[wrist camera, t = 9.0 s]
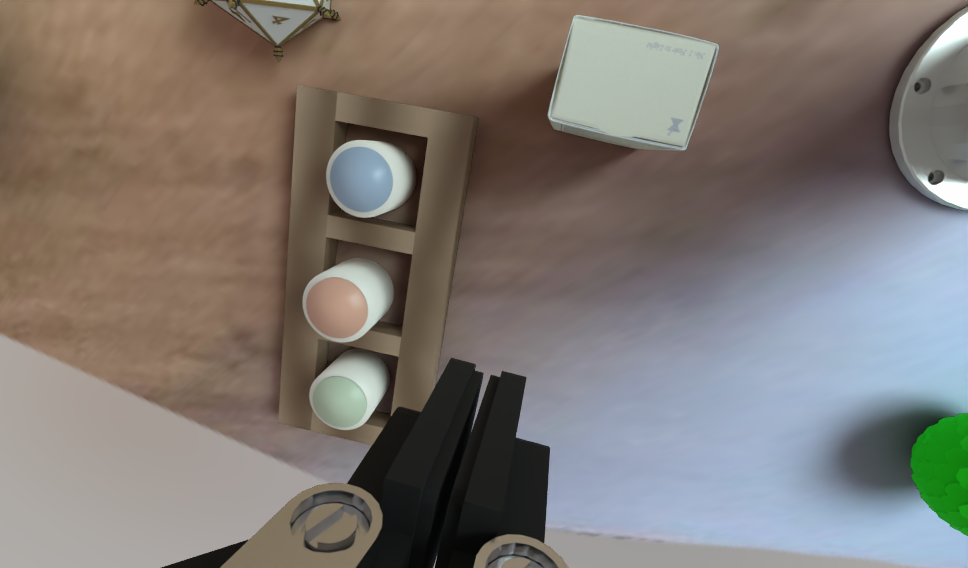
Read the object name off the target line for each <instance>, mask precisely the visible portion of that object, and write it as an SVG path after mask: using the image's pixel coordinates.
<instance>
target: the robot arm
mask: <svg viewBox="0 0 968 568" xmlns="http://www.w3.org/2000/svg"><path fill="white" fill-rule="evenodd" d="M914 85H915V90H914ZM889 135H890V141H891V147H892V152H893V155H894V157H895V159H896V162H897V164H898V167H899V169H900V170H901V172H902V173H903V174H904V176H905V177H906V179H907V180H908V181H909V183H910V184H911V185H912V186H914V187H915V188H916V189H917V190H918V191H919V192H921V193H922V194H923V195H924V196H926V197H928V198H930V199H932V200H934V201H936V202H938V203H940V204H942V205H946V206H949V207H953V208H956V209H960V210H968V6H967V7H966V8H964V9H962V10H961V11H959V12H958V13H956V14H955V15H953V16H952V17H951V18H950V19H949V20H947V21H946V22H945V23H944V24H943V25H941V26H940V27H939V28H938V29H936V30H935V31H934V33H933V34H932V35H931V36H930V37H929V38H928V39H927V40H926V41H925V42H924V44H923V45H922V46H921V47H920V48H919V49H918V51H917V52H916V54H915V55H914V57H913V58H912V60H911V61H910V63H909V64H908V66H907V67H906V69H905V71H904V73H903V75H902V77H901V80H900V82H899V84H898V86H897V89H896V91H895V95H894V99H893V103H892V107H891V111H890V125H889ZM475 367H476V364H473V363H469V362H465V361H461V360H458V359H454V358H451V359H450V361H449V363H448V365H447V366H446V368H445V370H444V372H443V374H442V375H441V377H440V379H439V381H438V383H437V384H436V386H435V388H434V390H433V392H432V393H431V395H430V397H429V399H428V401H427V403H426V404H425V406H424V408H423V410H422V412H419V411H416V410H412V409H408V408H404V407H401V406H400V407H398V408H397V409H396V410H395V411H394V413H393V414H392V416H391V417H390V419H389V420H388V422H387V423H386V425H385V427H384V428H383V430H382V431H381V433H380V434H379V436H378V437H377V439H376V440H375V442H374V443H373V445H372V446H371V448H370V449H369V451H368V452H367V454H366V456H365V457H364V459H363V460H362V462H361V463H360V465H359V466H358V468H357V469H356V471H355V472H354V474H353V475H352V477H351V478H350V480H349V481H348V483H347V484H343V483H329V484H323V485H317V486H314V487H312V488H310V489H307V490H305V491H302V492H301V493H300V494H298V495H297V496H296V497H294V498H293V499H291V500H290V501H289V502H288V503H287V504H286V505H285V506H284V507H283V508H282V509H281V510H280V511H279V512H278V513H277V514H276V515H274V517H272V519H270V520H269V521H268V522H267V523H266V524H265V525H264V526H263V527H262V528H261V529H260V530H259V531H258V532H257V533H256V534H255V535H254V536H253V537H252V538H251V539H249V540H246V541H243V542H240V543H237V544H233V545H230V546H227V547H224V548H221V549H218V550H215V551H212V552H209V553H205V554H202V555H199V556H196V557H193V558H190V559H187V560H184V561H181V562H177V563H174V564H171V565H168V566H165V567H162V568H433V566H434V563H435V560H436V557H437V560H436V564H435V568H568V566H567V565H566V564H565V562H564V560H563V559H562V558H561V557H560V556H559V555H558V554H557V553H556V552H555V551H554V550H553V549H552V548H551V547H549V546H547V545H546V544H544V537H545V522H546V506H547V489H548V473H549V456H550V448H549V446H545V445H541V444H538V443H534V442H530V441H526V440H523V439H519V438H516V432H517V427H518V421H519V416H520V410H521V405H522V399H523V394H524V388H525V383H526V377H524V376H520V375H516V374H512V373H508V372H504V371H502V373H501V377H497V376H493V375H491V376H490V379H489V382H488V385H487V388H486V391H485V394H484V397H483V400H482V403H481V406H480V409H479V412H478V415H477V418H476V421H475V424H474V426H473V421H474V416H475V412H476V407H477V402H478V398H479V393H480V388H481V384H482V379H483V373H482V372H478V371H475ZM472 426H473V429H472ZM471 430H472V432H471ZM437 554H438V555H437Z"/></svg>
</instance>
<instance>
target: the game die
mask: <svg viewBox="0 0 968 568" xmlns="http://www.w3.org/2000/svg"><path fill="white" fill-rule="evenodd" d="M208 1H211V2H213V3H214V4H215V5H217V6H218V7H220V8H221V9H223V10H224V11H225V12H227V13H228V14H230V15H231V16H233V17H234V18H235V19H237V20H238V21H240V22H241V23H243V24H244V25H245V26H247V27H248V28H250V29H251V30H252V31H254V32H255V33H257V34H258V35H260V36H261V37H262V38H264V39H265V40H267V41H268V42H270V43H271V44H272V45H274V46H275V50H274V56H275V57H276V59H277V60H278V62H280V60H281V58H282V56H283V55H282V52H283V51H282V50H281V46H282V45H284V44H285V43H287V42H288V41H290V40H291V39H292V38H294V37H295V36H297V35H298V34H300V33H301V32H303V31H304V30H306V29H307V28H309V27H310V26H312V25H313V24H315V23H316V22H318V21H319V20H321V19H322V18H324V19H328V18H332V19H333V20H340V18H339V15H338V12H335V10H331V0H195V2H194V4H199V5H201V6H204V4H207V2H208Z"/></svg>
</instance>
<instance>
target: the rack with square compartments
mask: <svg viewBox="0 0 968 568" xmlns="http://www.w3.org/2000/svg"><path fill="white" fill-rule="evenodd" d="M478 119H479V118H476V117H474V116H469V115H464V114H458V113H452V112H447V111H441V110H436V109H430V108H424V107H419V106H413V105H408V104H402V103H396V102H391V101H385V100H380V99H374V98H368V97H363V96H357V95H352V94H346V93H340V92H335V91H329V90H324V89H318V88H312V87H307V86H301V85H297V96H296V114H295V132H294V150H293V167H292V185H291V203H290V221H289V239H288V257H287V275H286V293H285V311H284V329H283V346H282V364H281V382H280V400H279V418H278V423H281V424H285V425H290V426H294V427H298V428H302V429H306V430H311V431H315V432H319V433H323V434H327V435H332V436H336V437H340V438H344V439H348V440H352V441H357V442H361V443H365V444H369V445H373V443H374V442H375V440H376V439H377V437H378V436H379V434H380V433H381V431H382V430H383V428H384V427H385V425H386V423H387V422H388V420H389V419H390V417H391V416H392V414H393V413H394V411H395V410H396V409H397V408H398V407H400V406H401V407H404V408H408V409H412V410H416V411H419V412H422V410H423V408H424V406H425V404H426V403H427V401H428V399H429V397H430V395H431V393H432V392H433V390H434V388H435V385H436V378H437V372H438V366H439V360H440V354H441V348H442V341H443V335H444V329H445V323H446V317H447V310H448V304H449V298H450V292H451V286H452V280H453V273H454V267H455V261H456V255H457V249H458V242H459V236H460V230H461V224H462V218H463V212H464V205H465V199H466V193H467V187H468V181H469V174H470V168H471V162H472V156H473V150H474V144H475V137H476V131H477V125H478ZM347 123H351V124H357V125H362V126H368V127H373V128H379V129H384V130H389V131H395V132H400V133H406V134H411V135H417V136H422V137H428V141H427V149H426V156H425V164H424V171H423V179H422V186H421V193H420V201H419V208H418V216H417V223H416V227H415V226H410V225H405V224H400V223H395V222H390V221H385V220H379V219H374V218H362V217H356V216H353V215H351V214H349V213H344V212H340V207H339V206H338V205H337V204H336V202H335V201H334V200H333V198H332V196H331V194H330V192H329V190H328V186H327V181H326V171H327V166H328V162H329V160H330V158H331V156H332V154H333V153H334V152H335V151H336V150H337V149H338V148H339V147H340V146H342V145H343V144H345V143H346V133H347ZM337 239H338V240H343V241H348V242H353V243H358V244H363V245H368V246H373V247H377V248H382V249H387V250H392V251H397V252H402V253H407V254H412V261H411V268H410V276H409V283H408V290H407V298H406V305H405V313H404V320H403V326H398V325H394V324H389V323H384V322H380V321H378V322H377V323H376V324H375V325H374V326H372V327H371V328H370V329H369V330H368V331H367V332H366V333H365V334H364V335H363V336H362V337H360V338H359V339H357V340H354V341H351V342H335V341H331V340H329V339H326V338H324V337H323V336H321V335H320V334H318V333H317V332H316V331H315V330H314V329H313V328H312V327H311V325H310V324H309V322H308V321H307V319H306V317H305V314H304V310H303V294H304V291H305V288H306V286H307V285H308V283H309V282H310V281H311V280H312V279H313V278H314V277H315V276H317V275H319V274H321V273H322V272H324V271H326V270H328V269H330V268H332V267H334V266H335V260H336V249H337ZM328 341H330V342H335V343H339V344H344V345H348V346H353V347H357V348H362V349H366V350H371V351H375V352H380V353H384V354H389V355H393V356H398V357H399V358H398V365H397V373H396V380H395V387H394V395H393V402H392V410H391V415H390V414H386V413H382V412H377V411H373V413H372V414H371V416H370V417H369V419H368V420H367V421H366V422H365V423H364V424H363V425H362V426H360V427H358V428H355V429H352V430H340V429H336V428H333V427H330V426H328V425H327V424H325V423H324V422H322V421H321V420H320V419H319V418H318V417H317V415H316V414H315V413H314V411H313V409H312V407H311V404H310V399H309V393H310V388H311V385H312V383H313V382H314V380H315V379H316V378H317V377H318V376H319V375H320V374H321V373H322V372H323V371H324V370H325V369H326V365H327V353H328Z"/></svg>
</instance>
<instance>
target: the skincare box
mask: <svg viewBox="0 0 968 568" xmlns="http://www.w3.org/2000/svg"><path fill="white" fill-rule="evenodd" d="M718 51H719V46H718V44H716V43H713V42H709V41H705V40H701V39H697V38H694V37H690V36H685V35H681V34H677V33H672V32H667V31H663V30H658V29H653V28H648V27H643V26H637V25H632V24H627V23H621V22H617V21H611V20H605V19H600V18H594V17H588V16H582V15H575V16H574V17H573V19H572V23H571V27H570V30H569V34H568V38H567V41H566V45H565V48H564V52H563V55H562V59H561V63H560V66H559V70H558V74H557V78H556V82H555V86H554V90H553V94H552V98H551V102H550V106H549V111H548V118H549V120H550V123H551V125H552V127H553V128H554V129H555V130H559V131H562V132H566V133H570V134H574V135H578V136H582V137H586V138H590V139H594V140H598V141H603V142H607V143H611V144H616V145H620V146H625V147H630V148H635V149H647V150H675V151H684V150H686V148H687V146H688V142H689V139H690V137H691V134H692V132H693V128H694V126H695V123H696V120H697V117H698V114H699V112H700V108H701V105H702V102H703V99H704V96H705V94H706V90H707V88H708V85H709V81H710V78H711V75H712V72H713V68H714V65H715V61H716V58H717V55H718Z"/></svg>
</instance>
